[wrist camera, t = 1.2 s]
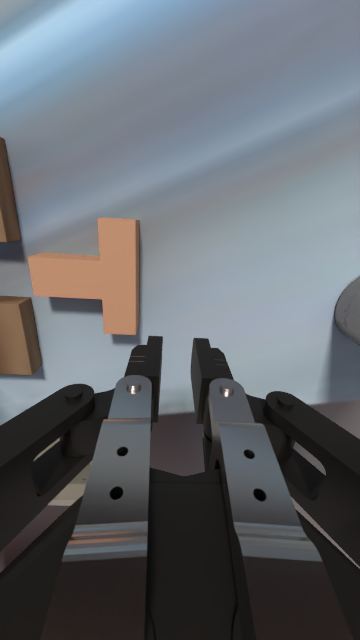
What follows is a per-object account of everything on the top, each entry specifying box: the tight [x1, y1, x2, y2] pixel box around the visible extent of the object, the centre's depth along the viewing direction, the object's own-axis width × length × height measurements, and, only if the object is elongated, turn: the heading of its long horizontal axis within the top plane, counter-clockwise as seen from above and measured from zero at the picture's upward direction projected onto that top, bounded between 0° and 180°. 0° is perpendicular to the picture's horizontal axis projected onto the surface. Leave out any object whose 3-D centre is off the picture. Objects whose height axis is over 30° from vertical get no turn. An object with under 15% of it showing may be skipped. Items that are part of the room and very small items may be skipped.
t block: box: [28, 218, 139, 335], centre depth 27 cm, size 10×12×3 cm
